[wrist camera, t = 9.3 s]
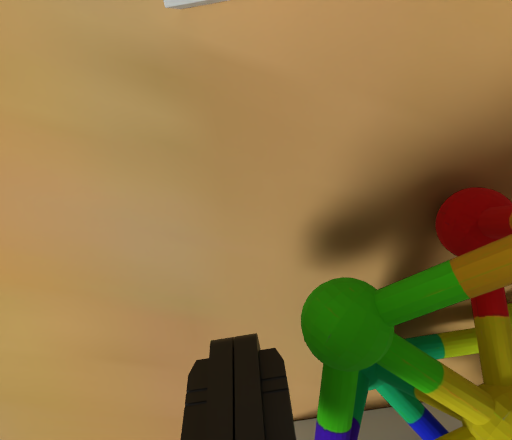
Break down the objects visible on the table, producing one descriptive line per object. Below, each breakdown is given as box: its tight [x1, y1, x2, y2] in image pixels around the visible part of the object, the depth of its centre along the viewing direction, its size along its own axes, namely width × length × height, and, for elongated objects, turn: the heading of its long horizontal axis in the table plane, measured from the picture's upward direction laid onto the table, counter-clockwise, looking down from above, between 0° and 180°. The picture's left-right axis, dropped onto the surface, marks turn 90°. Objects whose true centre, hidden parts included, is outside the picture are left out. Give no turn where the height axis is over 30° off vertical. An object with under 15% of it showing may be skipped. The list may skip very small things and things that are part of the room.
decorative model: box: [301, 187, 512, 440], centre depth 13 cm, size 13×9×15 cm
